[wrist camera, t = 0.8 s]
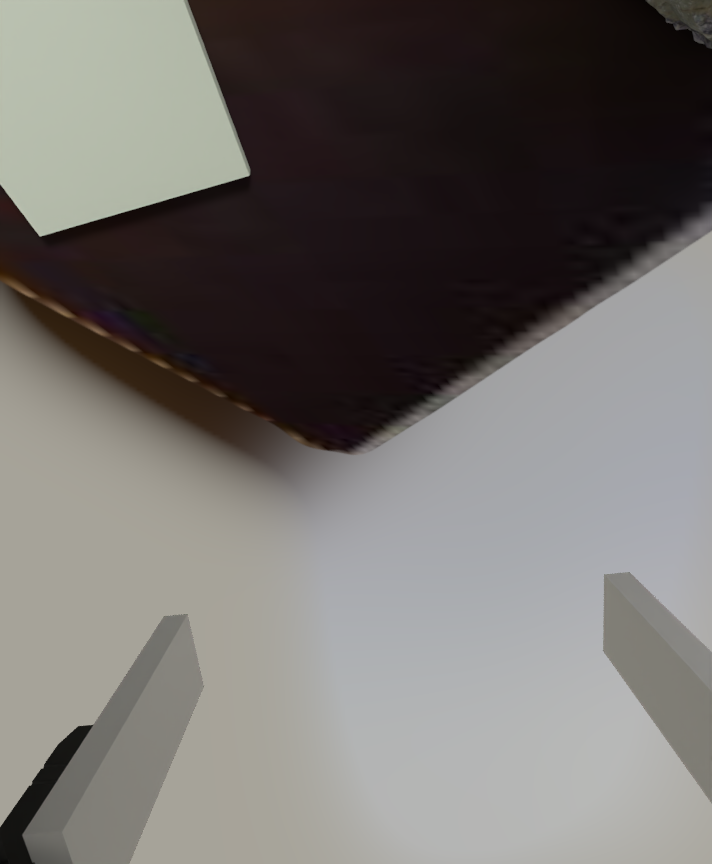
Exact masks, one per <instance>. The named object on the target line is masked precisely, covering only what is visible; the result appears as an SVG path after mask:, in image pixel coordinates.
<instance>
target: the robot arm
mask: <svg viewBox="0 0 712 864" xmlns="http://www.w3.org/2000/svg"><path fill="white" fill-rule="evenodd" d="M603 645H604V646H603V649H604V650H603V651H604V653H605V654H606V655H607V657H608V658H609V660H610V661H611V662H612V664H613V665H614V667H615V668H616V669H617V671H618V672H619V674H620V675H621V676H622V678H623V679H624V681H625V682H626V684H627V685H628V686H629V688H630V689H631V690H632V692H633V693H634V695H635V696H636V697H637V699H638V700H639V702H640V703H641V705H642V706H643V707H644V709H645V710H646V712H647V713H648V714H649V716H650V717H651V719H652V720H653V721H654V723H655V724H656V726H657V727H658V728H659V730H660V731H661V733H662V734H663V735H664V737H665V738H666V740H667V741H668V742H669V744H670V745H671V747H672V748H673V749H674V751H675V752H676V754H677V755H678V757H679V758H680V759H681V761H682V762H683V764H684V765H685V766H686V768H687V769H688V771H689V772H690V773H691V775H692V776H693V778H694V779H695V780H696V782H697V783H698V785H699V786H700V787H701V789H702V790H703V792H704V793H705V795H706V796H707V797H708V799H709V800H710V802H711V803H712V652H711V651H710V650H709V649H708V648H707V647H706V646H705V645H704V644H703V643H702V642H700V641H699V640H698V639H697V638H696V637H695V636H694V635H693V634H692V633H691V632H690V631H689V630H688V629H687V628H686V627H685V626H684V625H683V624H682V623H681V622H680V621H679V620H678V619H677V618H676V617H675V616H674V615H673V614H672V613H671V612H670V611H669V610H667V608H665V607H664V605H662V604H661V603H660V602H659V601H658V600H657V599H656V598H655V597H654V596H653V595H652V594H651V593H650V592H649V591H648V590H647V589H646V588H645V587H644V586H643V585H642V584H641V583H640V582H639V581H638V580H637V579H636V578H635V577H634V576H633V575H632V574H631V573H629V572H628V573H617V574H607V575H604V641H603ZM203 687H204V686H203V681H202V676H201V672H200V667H199V663H198V658H197V654H196V650H195V645H194V641H193V637H192V632H191V627H190V623H189V619H188V614H184V615H173V616H164V617H163V619H162V620H161V622H160V623H159V625H158V626H157V628H156V630H155V631H154V633H153V634H152V636H151V637H150V639H149V640H148V642H147V643H146V645H145V646H144V648H143V650H142V651H141V653H140V654H139V656H138V657H137V659H136V660H135V662H134V664H133V665H132V667H131V668H130V670H129V671H128V673H127V674H126V676H125V677H124V679H123V681H122V682H121V683H120V685H119V687H118V688H117V690H116V691H115V693H114V694H113V696H112V697H111V699H110V700H109V702H108V703H107V705H106V707H105V708H104V710H103V711H102V713H101V714H100V716H99V717H98V719H97V721H96V722H95V724H94V725H88V726H78V727H77V728H76V729H75V730H74V731H73V732H71V733H70V734H69V735H68V736H67V737H66V738H65V739H64V740H63V741H62V742H60V743H59V744H58V746H57V747H56V748H55V750H54V751H53V753H52V754H51V756H50V757H49V758H48V760H47V761H46V763H45V764H44V768H43V769H41V770H40V771H39V773H38V774H37V776H36V777H35V778H34V780H33V781H32V785H31V786H29V787H28V788H27V790H26V791H25V793H24V794H23V795H22V797H21V798H20V800H19V801H18V803H17V804H16V805H15V807H14V808H13V810H12V812H11V813H10V814H9V815H8V817H7V818H6V820H5V821H4V823H3V824H2V825H1V827H0V864H129V863H130V861H131V858H132V856H133V853H134V851H135V849H136V846H137V844H138V841H139V839H140V837H141V835H142V832H143V830H144V827H145V825H146V823H147V820H148V818H149V816H150V813H151V811H152V808H153V806H154V804H155V801H156V799H157V797H158V794H159V792H160V789H161V787H162V784H163V782H164V780H165V778H166V775H167V773H168V770H169V768H170V766H171V763H172V761H173V759H174V756H175V754H176V751H177V749H178V747H179V744H180V742H181V740H182V737H183V735H184V732H185V730H186V727H187V725H188V723H189V721H190V718H191V716H192V713H193V711H194V709H195V706H196V704H197V702H198V699H199V697H200V694H201V692H202V690H203Z"/></svg>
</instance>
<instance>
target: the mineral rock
mask: <svg viewBox="0 0 712 864" xmlns="http://www.w3.org/2000/svg"><path fill="white" fill-rule="evenodd" d="M646 1H647V2H648V3H649V4H650V5H651V6H653V7H654V8H655V9H656V10H657V11H658V12H659V13H660V14H661V15H662V16H664V17H665V18H666V22H667V23H671V24H672V23H673V26H674V27H675V29H676V30H682V29H689V30H690V31H692V32H693V37H694V41H696V42H698V43H702V44H705V45H706V47H707V48H711V49H712V0H646Z"/></svg>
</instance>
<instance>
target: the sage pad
mask: <svg viewBox="0 0 712 864" xmlns="http://www.w3.org/2000/svg"><path fill="white" fill-rule="evenodd" d="M247 176H250V168H249V165H248V162H247V160H246V157H245V154H244V151H243V149H242V146H241V143H240V141H239V138H238V135H237V133H236V130H235V127H234V125H233V122H232V119H231V117H230V114H229V111H228V108H227V106H226V103H225V100H224V98H223V95H222V92H221V90H220V87H219V84H218V82H217V79H216V76H215V73H214V71H213V68H212V65H211V63H210V60H209V57H208V55H207V52H206V49H205V47H204V44H203V41H202V39H201V36H200V33H199V30H198V28H197V25H196V22H195V20H194V17H193V14H192V12H191V9H190V6H189V4H188V1H187V0H0V184H1V186H2V187H3V188H4V190H5V191H6V192H7V194H8V195H9V196H10V198H11V199H12V200H13V202H14V203H15V204H16V206H17V207H18V208H19V210H20V211H21V212H22V214H23V215H24V216H25V218H26V219H27V220H28V222H29V223H30V224H31V225H32V227H33V228H34V229H35V231H36V232H37V233H38V235H39V236H44V235H47V234H50V233H54V232H57V231H61V230H64V229H68V228H71V227H75V226H78V225H81V224H85V223H88V222H92V221H95V220H99V219H102V218H106V217H109V216H112V215H116V214H119V213H123V212H126V211H130V210H133V209H137V208H140V207H143V206H147V205H150V204H154V203H157V202H161V201H164V200H168V199H171V198H174V197H178V196H181V195H185V194H188V193H192V192H195V191H199V190H202V189H205V188H209V187H212V186H216V185H219V184H223V183H226V182H230V181H233V180H236V179H240V178H243V177H247Z"/></svg>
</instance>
